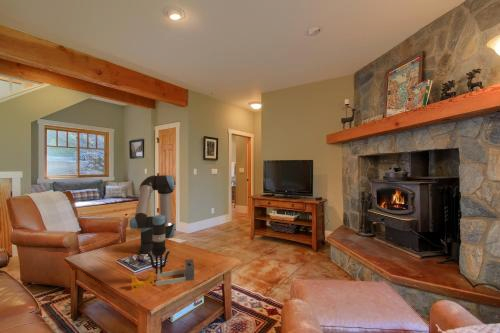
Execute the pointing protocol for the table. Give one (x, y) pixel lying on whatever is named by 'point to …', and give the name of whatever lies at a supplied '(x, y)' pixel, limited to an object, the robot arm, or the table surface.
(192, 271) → the unit housing
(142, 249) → the robot arm
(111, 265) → the table surface
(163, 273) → the frame
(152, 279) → the pipe clamp
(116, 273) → the table surface
